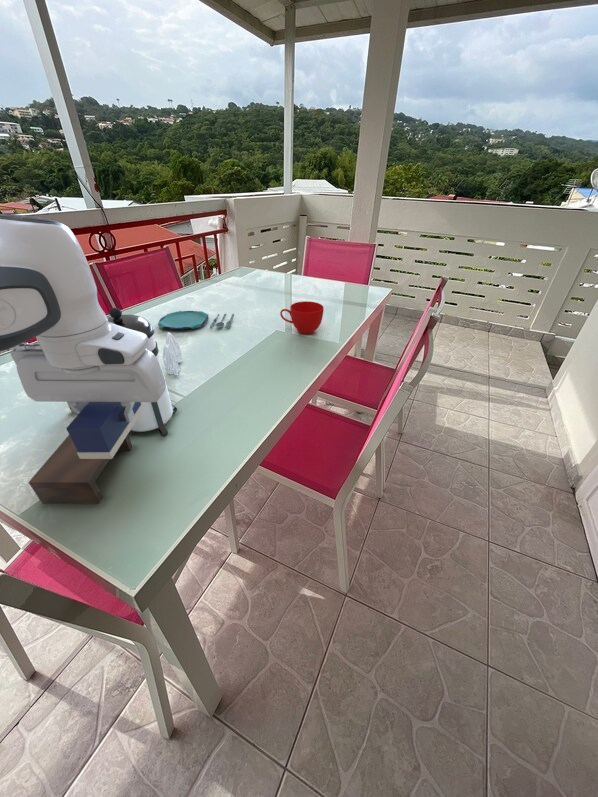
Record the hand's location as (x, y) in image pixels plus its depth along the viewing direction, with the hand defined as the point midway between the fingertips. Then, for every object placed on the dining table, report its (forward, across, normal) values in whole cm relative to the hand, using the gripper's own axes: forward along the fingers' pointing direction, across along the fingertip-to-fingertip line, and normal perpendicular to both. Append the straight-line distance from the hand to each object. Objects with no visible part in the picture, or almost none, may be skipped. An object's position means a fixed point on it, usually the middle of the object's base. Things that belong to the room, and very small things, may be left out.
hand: (110, 419), depth 55 cm
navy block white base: (+3, 0, 0) cm, 3 cm away
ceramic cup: (+19, +33, +82) cm, 91 cm away
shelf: (+19, -13, +6) cm, 24 cm away
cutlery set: (+19, -11, +89) cm, 92 cm away
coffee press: (+19, -7, +24) cm, 31 cm away
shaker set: (+19, -9, +52) cm, 56 cm away
